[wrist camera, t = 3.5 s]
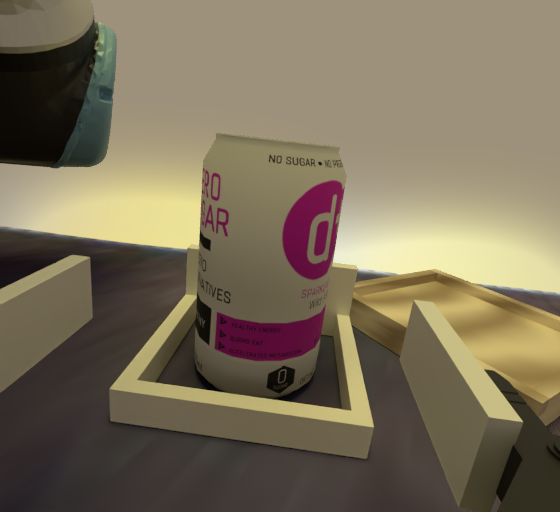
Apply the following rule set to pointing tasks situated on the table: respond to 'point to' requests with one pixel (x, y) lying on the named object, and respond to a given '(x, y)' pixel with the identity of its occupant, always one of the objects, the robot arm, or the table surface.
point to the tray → (471, 329)
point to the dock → (246, 409)
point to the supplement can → (265, 261)
